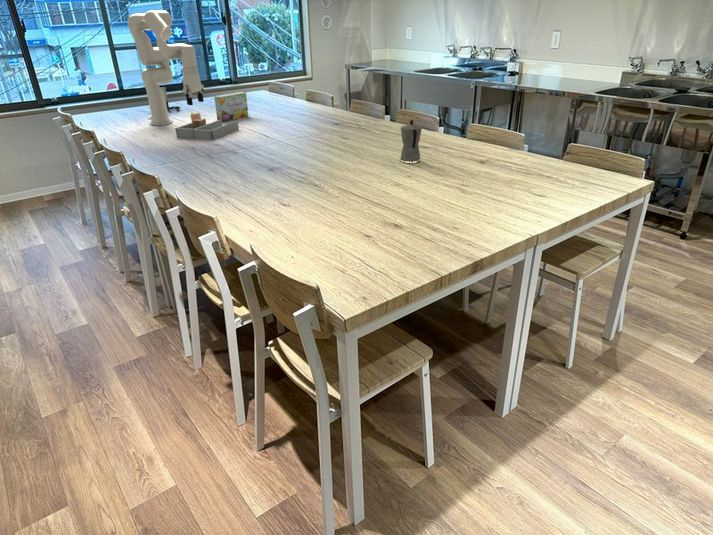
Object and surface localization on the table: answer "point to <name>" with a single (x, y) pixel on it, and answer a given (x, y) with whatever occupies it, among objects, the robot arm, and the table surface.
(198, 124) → the walnut block
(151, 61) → the robot arm
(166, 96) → the milk frother
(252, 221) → the table surface
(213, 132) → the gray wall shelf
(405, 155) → the coffeepot
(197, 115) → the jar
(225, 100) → the snack box
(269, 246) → the table surface
